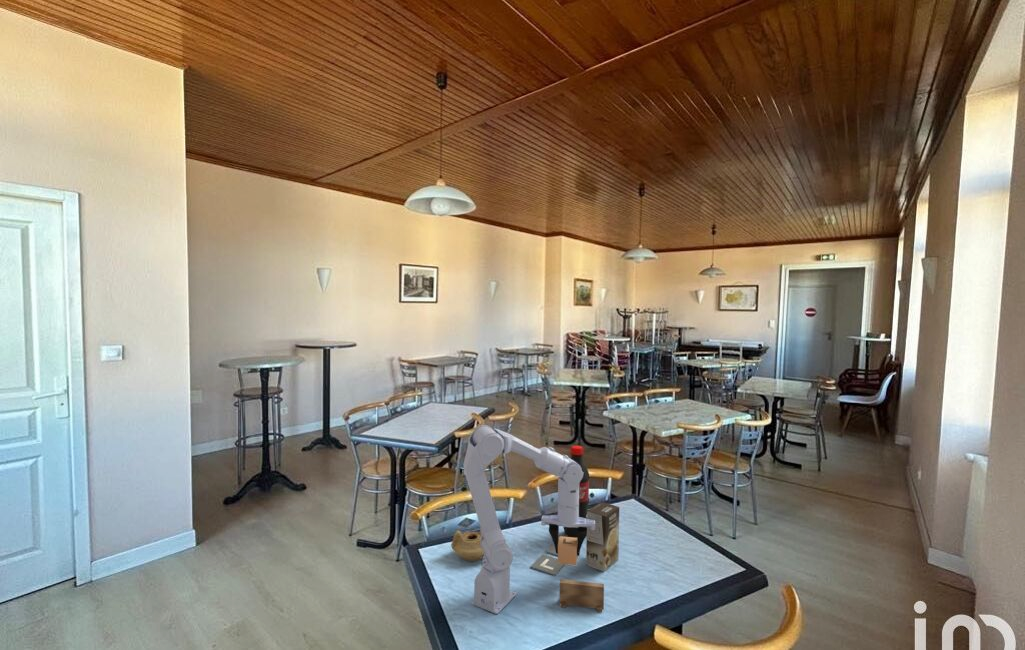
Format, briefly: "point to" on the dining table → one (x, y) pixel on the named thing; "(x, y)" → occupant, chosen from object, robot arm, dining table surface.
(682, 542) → the dining table surface
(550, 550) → the mat
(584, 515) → the cola bottle
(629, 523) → the dining table surface
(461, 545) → the oil lamp
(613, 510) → the coffee box
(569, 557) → the letter cube
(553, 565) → the mat
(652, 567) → the dining table surface
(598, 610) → the walnut screen
